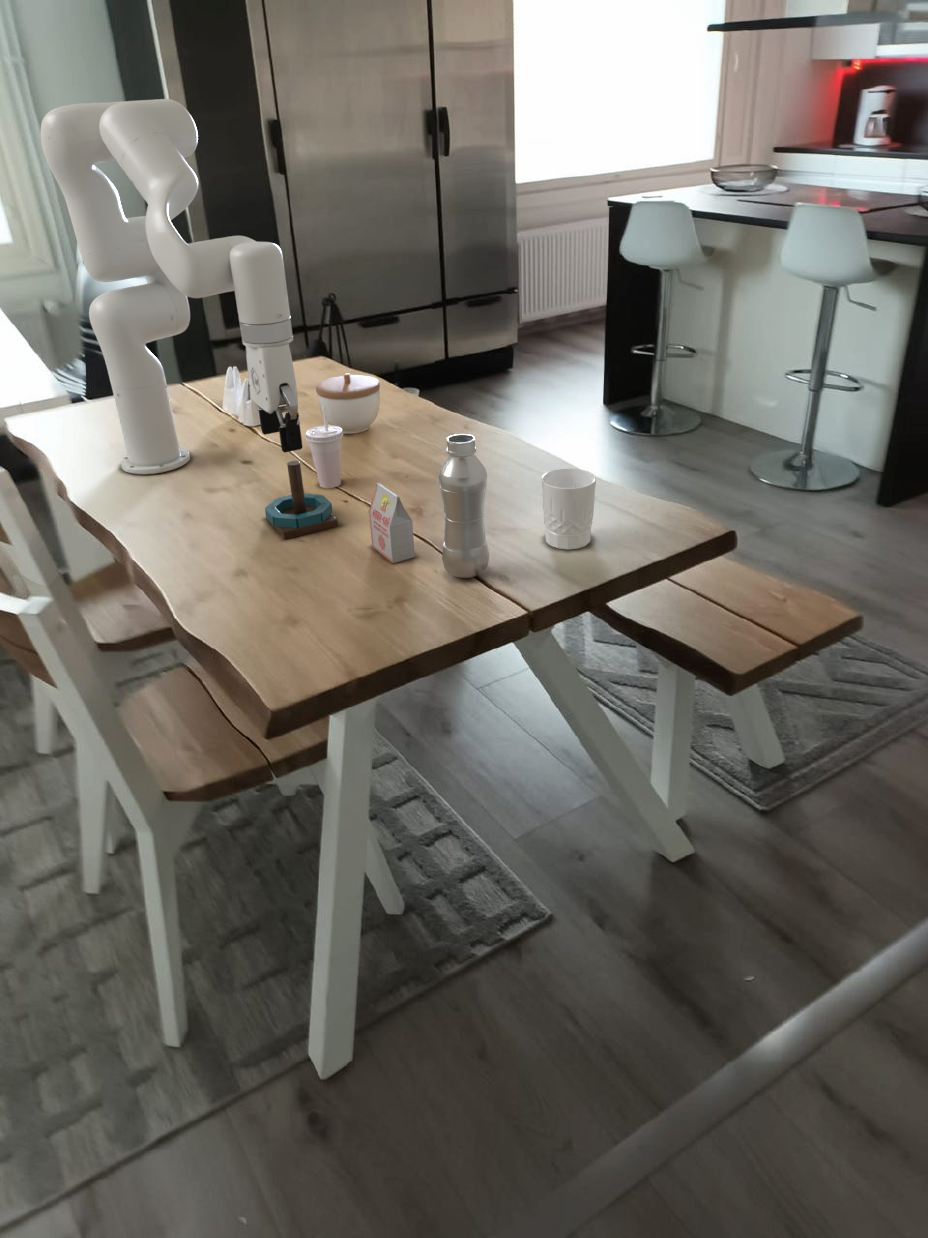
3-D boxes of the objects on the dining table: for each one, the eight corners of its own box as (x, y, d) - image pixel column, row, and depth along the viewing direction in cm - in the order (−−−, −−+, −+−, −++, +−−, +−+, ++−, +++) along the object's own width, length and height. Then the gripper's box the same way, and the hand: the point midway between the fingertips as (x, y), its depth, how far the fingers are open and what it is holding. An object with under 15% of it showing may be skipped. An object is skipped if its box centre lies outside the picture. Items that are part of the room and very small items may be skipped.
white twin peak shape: (222, 416, 203) (213, 365, 197) (240, 412, 205) (231, 360, 200) (250, 429, 195) (241, 375, 189) (268, 424, 197) (259, 371, 191)
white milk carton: (393, 540, 145) (388, 479, 140) (414, 556, 140) (410, 494, 135) (372, 547, 144) (366, 485, 139) (392, 563, 139) (387, 500, 134)
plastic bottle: (441, 564, 138) (433, 432, 128) (487, 560, 138) (483, 428, 128) (444, 585, 132) (436, 448, 122) (492, 581, 133) (488, 445, 123)
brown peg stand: (266, 519, 155) (256, 460, 149) (318, 507, 158) (310, 448, 153) (284, 539, 148) (275, 477, 143) (338, 525, 151) (331, 465, 146)
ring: (260, 511, 155) (258, 502, 154) (317, 497, 159) (316, 488, 158) (280, 532, 147) (278, 523, 146) (340, 518, 151) (338, 508, 150)
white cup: (580, 555, 138) (581, 492, 133) (532, 545, 142) (532, 482, 137) (602, 535, 144) (605, 473, 139) (556, 525, 148) (557, 464, 143)
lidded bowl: (395, 423, 194) (391, 369, 189) (357, 442, 185) (351, 386, 180) (347, 414, 200) (341, 362, 195) (308, 432, 191) (301, 378, 186)
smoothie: (341, 491, 164) (332, 412, 156) (306, 490, 165) (296, 411, 158) (353, 477, 169) (344, 400, 162) (318, 476, 170) (309, 400, 163)
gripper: (225, 324, 146) (242, 430, 155) (260, 347, 133) (277, 462, 142) (272, 317, 149) (286, 422, 158) (310, 339, 136) (324, 452, 145)
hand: (282, 441), depth 150 cm, fingers open, 9 cm apart
